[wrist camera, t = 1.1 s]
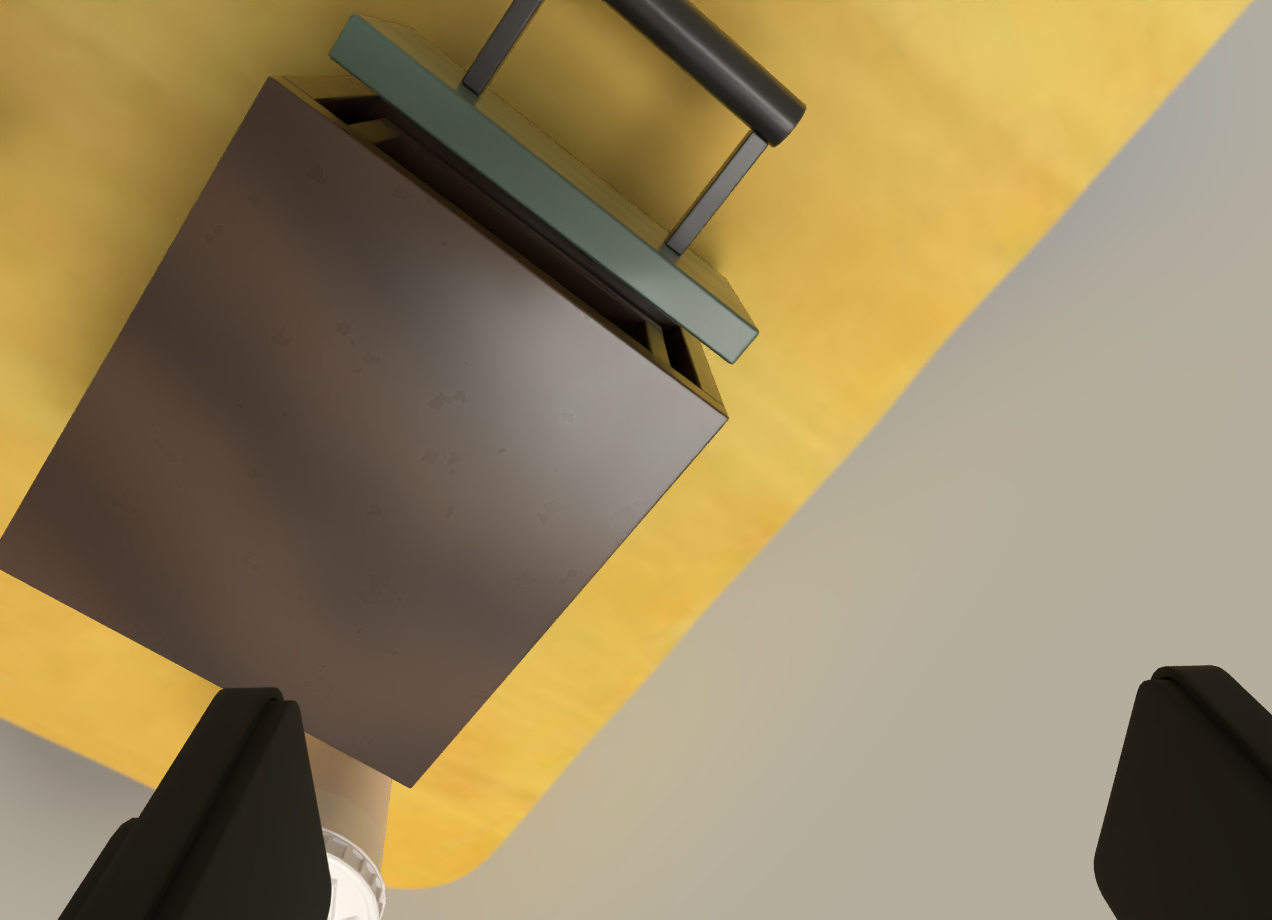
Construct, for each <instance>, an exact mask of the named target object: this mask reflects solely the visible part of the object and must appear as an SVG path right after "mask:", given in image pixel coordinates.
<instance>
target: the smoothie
mask: <svg viewBox="0 0 1272 920" xmlns="http://www.w3.org/2000/svg"><path fill="white" fill-rule="evenodd" d="M304 733H305V732H304ZM305 739H306V744H307V750H308V755H309V761H310V766H311V771H312V777H313V782H314V788H315V793H316V799H317V804H318V810H319V815H320V821H321V826H322V832H323V837H324V843H325V848H326V854H327V859H328V865H329V870H330V876H331V883H332V895H331V905H330V910H329V914H328V918H327V920H381V917H382V914H383V910H384V907H385V903H386V894H385V882H384V880H383V878H382V876H381V874H380V872H381V865H382V858H383V848H384V840H385V832H386V824H387V816H388V808H389V800H390V792H391V784H392V779H391V778H390V777H388V776H386V775H384V774H382V773H380V772H378V771H376V770H375V769H373V768H371V767H369V766H367V765H365V764H363V763H361V762H360V761H358V760H356V759H354V758H352V757H350V756H348V755H347V754H345V753H343V752H341V751H339V750H337V749H335V748H333V747H332V746H330V745H328V744H326V743H324V742H322V741H320V740H318V739H317V738H315V737H313V736H311V735H309V734H307V733H305Z"/></svg>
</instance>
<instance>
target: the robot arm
mask: <svg viewBox="0 0 1272 920" xmlns="http://www.w3.org/2000/svg"><path fill="white" fill-rule="evenodd" d="M1094 873H1095V878H1096V881H1097V884H1098V887H1099V890H1100V891H1101V894H1102V896H1103V897H1104V899H1105V900H1106V902H1107V904H1108V905H1109V907H1110V908H1111V910H1112V912H1113V913H1114V915H1115V917H1116V918H1117V920H1272V715H1271V714H1270V713H1269V712H1268V711H1267V710H1266V709H1265V708H1264V707H1263V706H1262V705H1261V704H1260V703H1259V702H1257V700H1255V698H1253V697H1252V696H1251V695H1250V694H1249V693H1248V692H1247V691H1246V690H1245V689H1244V688H1243V687H1242V686H1241V685H1240V684H1239V683H1238V682H1237V681H1236V680H1235V679H1234V678H1232V677H1231V676H1230V675H1229V674H1228V673H1227V672H1226V671H1224V670H1223V669H1221V668H1220V667H1217V666H1212V665H1204V666H1165V667H1161V668H1158V669H1157V670H1156V671H1155V672H1154V673H1153V675H1152V678H1151V680H1147V681H1144V682H1143V683H1142V684H1141V685H1140V686H1139V689H1138V691H1137V695H1136V698H1135V702H1134V706H1133V710H1132V714H1131V718H1130V722H1129V725H1128V729H1127V733H1126V737H1125V741H1124V745H1123V748H1122V752H1121V756H1120V760H1119V764H1118V768H1117V772H1116V775H1115V779H1114V783H1113V787H1112V791H1111V795H1110V798H1109V802H1108V806H1107V810H1106V814H1105V818H1104V822H1103V826H1102V829H1101V833H1100V837H1099V841H1098V845H1097V848H1096V852H1095V857H1094ZM331 895H332V883H331V876H330V870H329V865H328V859H327V854H326V848H325V843H324V837H323V832H322V826H321V821H320V815H319V810H318V804H317V799H316V793H315V788H314V782H313V777H312V771H311V766H310V761H309V755H308V750H307V744H306V739H305V733H304V728H303V722H302V717H301V711H300V708H299V705H298V703H297V702H296V701H294V700H284V698H283V695H282V693H281V691H280V690H279V689H278V688H276V687H252V688H224V689H222V690H220V691H219V692H218V693H217V694H216V696H215V697H214V698H213V700H212V702H211V703H210V705H209V706H208V708H207V710H206V711H205V713H204V714H203V716H202V717H201V719H200V721H199V722H198V724H197V725H196V727H195V729H194V730H193V732H192V733H191V735H190V737H189V738H188V740H187V741H186V743H185V744H184V746H183V748H182V749H181V751H180V752H179V754H178V756H177V757H176V759H175V760H174V762H173V764H172V765H171V767H170V768H169V770H168V771H167V773H166V775H165V776H164V778H163V779H162V781H161V783H160V784H159V786H158V787H157V789H156V791H155V792H154V794H153V795H152V797H151V798H150V800H149V802H148V803H147V805H146V807H145V808H144V810H143V811H142V813H141V814H140V816H139V818H131V819H130V820H128V821H126V822H125V823H123V824H122V825H121V826H120V827H119V828H118V830H117V831H116V832H115V833H114V834H113V836H112V837H111V838H110V840H109V841H108V843H107V845H106V846H105V848H104V849H103V851H102V852H101V854H100V855H99V857H98V858H97V860H96V861H95V863H94V865H93V866H92V868H91V869H90V871H89V872H88V874H87V875H86V877H85V879H84V880H83V881H82V883H81V884H80V886H79V888H78V889H77V891H76V892H75V894H74V895H73V897H72V899H71V900H70V901H69V903H68V905H67V906H66V908H65V909H64V911H63V912H62V914H61V915H60V917H59V918H58V920H327V918H328V914H329V910H330V905H331Z"/></svg>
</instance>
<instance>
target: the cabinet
mask: <svg viewBox="0 0 1272 920" xmlns="http://www.w3.org/2000/svg"><path fill="white" fill-rule="evenodd" d="M380 118H386V119H388V120H389V121H390V122H392V123H393V124H394V125H396V126H397V127H398V128H400V129H401V130H402V131H404V132H405V133H406V134H408V135H409V136H410V137H411V138H413V139H414V140H415V141H417V142H418V143H419V144H421V145H422V146H423V147H425V148H426V149H427V150H429V151H430V152H431V153H433V154H434V155H435V156H436V157H438V158H439V159H440V160H442V161H443V162H444V163H446V164H447V165H448V166H450V167H451V168H452V169H454V170H455V171H456V172H458V173H459V174H460V175H461V176H463V177H464V178H465V179H467V180H468V181H469V182H471V183H472V184H473V185H475V186H476V187H477V188H479V189H480V190H481V191H483V192H484V193H485V194H486V195H488V196H489V197H490V198H492V199H493V200H494V201H496V202H497V203H498V204H500V205H501V206H502V207H504V208H505V209H506V210H508V211H509V212H510V213H511V214H513V215H514V216H515V217H517V218H518V219H519V220H521V221H522V222H523V223H525V224H526V225H527V226H529V227H530V228H531V229H533V230H534V231H535V232H536V233H538V234H539V235H540V236H542V237H543V238H544V239H546V240H547V241H548V242H550V243H551V244H552V245H554V246H555V247H556V248H558V249H559V250H560V251H561V252H563V253H564V254H565V255H567V256H568V257H569V258H571V259H572V260H573V261H575V262H576V263H577V264H579V265H580V266H581V267H583V268H584V269H585V270H586V271H588V272H589V273H590V274H592V275H593V276H594V277H596V278H597V279H598V280H600V281H601V282H602V283H604V284H605V285H606V286H608V287H609V288H610V289H612V290H613V291H614V292H615V293H617V294H618V295H619V296H621V297H622V298H623V299H625V300H626V301H627V302H629V303H630V304H631V305H633V306H634V307H635V308H637V309H638V310H639V311H640V312H642V313H643V314H644V315H646V316H647V317H648V318H650V319H651V320H652V321H654V322H655V323H656V324H658V325H659V326H660V327H661V328H662V331H663V337H664V341H665V345H666V349H667V354H668V358H669V362H670V366H671V367H670V366H669V365H668V364H666V363H665V362H664V361H662V360H661V359H660V358H658V357H657V356H656V355H654V354H653V353H652V352H650V351H649V350H648V349H646V348H645V347H644V346H642V345H641V344H640V343H638V342H637V341H636V340H634V339H633V338H632V337H630V336H629V335H628V334H626V333H625V332H624V331H622V330H621V329H620V328H618V327H617V326H616V325H614V324H613V323H612V322H610V321H609V320H607V319H606V318H605V317H603V316H602V315H601V314H599V313H598V312H597V311H595V310H594V309H593V308H591V307H590V306H589V305H587V304H586V303H585V302H583V301H582V300H581V299H579V298H578V297H577V296H575V295H574V294H573V293H571V292H570V291H569V290H567V289H566V288H565V287H563V286H562V285H561V284H559V283H558V282H557V281H555V280H554V279H553V278H551V277H550V276H549V275H547V274H546V273H545V272H543V271H542V270H541V269H539V268H538V267H537V266H535V265H534V264H533V263H531V262H530V261H529V260H527V259H526V258H525V257H523V256H522V255H521V254H519V253H518V252H517V251H515V250H514V249H513V248H511V247H510V246H509V245H507V244H506V243H504V242H503V241H502V240H500V239H499V238H498V237H496V236H495V235H494V234H492V233H491V232H490V231H488V230H487V229H486V228H484V227H483V226H482V225H480V224H479V223H478V222H476V221H475V220H474V219H472V218H471V217H470V216H468V215H467V214H466V213H464V212H463V211H462V210H460V209H459V208H458V207H456V206H455V205H454V204H452V203H451V202H450V201H448V200H447V199H446V198H444V197H443V196H442V195H440V194H439V193H438V192H436V191H435V190H434V189H432V188H431V187H430V186H428V185H427V184H426V183H424V182H423V181H422V180H420V179H419V178H418V177H416V176H415V175H414V174H412V173H411V172H410V171H408V170H407V169H406V168H404V167H403V166H402V165H400V164H399V163H397V162H396V161H395V160H393V159H392V158H391V157H389V156H388V155H387V154H385V153H384V152H383V151H381V150H380V149H379V148H377V147H376V146H375V145H373V144H372V143H371V142H369V141H368V140H367V139H365V138H364V137H363V136H361V135H360V134H359V133H357V132H356V131H355V130H353V129H352V128H351V127H349V126H348V125H350V124H356V123H361V122H366V121H371V120H377V119H380ZM728 419H729V417H728V414H727V412H726V409H725V407H724V404H723V401H722V399H721V396H720V394H719V391H718V388H717V386H716V383H715V380H714V378H713V375H712V372H711V370H710V367H709V364H708V362H707V359H706V356H705V354H704V351H703V348H702V346H701V343H700V341H699V340H698V339H697V338H695V337H694V336H693V335H691V334H690V333H689V332H687V331H686V330H685V329H683V328H682V327H681V326H680V325H678V324H677V323H676V322H674V321H673V320H672V319H670V318H669V317H668V316H667V315H665V314H664V313H663V312H661V311H660V310H659V309H657V308H656V307H655V306H653V305H652V304H651V303H650V302H648V301H647V300H646V299H644V298H643V297H642V296H640V295H639V294H638V293H636V292H635V291H634V290H633V289H631V288H630V287H629V286H627V285H626V284H625V283H623V282H622V281H621V280H620V279H618V278H617V277H616V276H614V275H613V274H612V273H610V272H609V271H608V270H606V269H605V268H604V267H603V266H601V265H600V264H599V263H597V262H596V261H595V260H593V259H592V258H591V257H589V256H588V255H587V254H586V253H584V252H583V251H582V250H580V249H579V248H578V247H576V246H575V245H574V244H573V243H571V242H570V241H569V240H567V239H566V238H565V237H563V236H562V235H561V234H559V233H558V232H557V231H556V230H554V229H553V228H552V227H550V226H549V225H548V224H546V223H545V222H544V221H542V220H541V219H540V218H539V217H537V216H536V215H535V214H533V213H532V212H531V211H529V210H528V209H527V208H526V207H524V206H523V205H522V204H520V203H519V202H518V201H516V200H515V199H514V198H512V197H511V196H510V195H509V194H507V193H506V192H505V191H503V190H502V189H501V188H499V187H498V186H497V185H495V184H494V183H493V182H492V181H490V180H489V179H488V178H486V177H485V176H484V175H482V174H481V173H480V172H479V171H477V170H476V169H475V168H473V167H472V166H471V165H469V164H468V163H467V162H465V161H464V160H463V159H462V158H460V157H459V156H458V155H456V154H455V153H454V152H452V151H451V150H450V149H448V148H447V147H446V146H445V145H443V144H442V143H441V142H439V141H438V140H437V139H435V138H434V137H433V136H432V135H430V134H429V133H428V132H426V131H425V130H424V129H422V128H421V127H420V126H418V125H417V124H416V123H415V122H413V121H412V120H411V119H409V118H408V117H407V116H405V115H404V114H403V113H401V112H400V111H399V110H398V109H396V108H395V107H394V106H392V105H391V104H390V103H388V102H387V101H386V100H385V99H383V98H382V97H381V96H379V95H378V94H377V93H375V92H374V91H373V90H371V89H370V88H369V87H368V86H366V85H365V84H364V83H362V82H361V81H360V80H358V79H357V78H356V77H354V76H269V77H268V78H267V79H266V81H265V83H264V85H263V86H262V88H261V90H260V91H259V93H258V95H257V97H256V98H255V100H254V102H253V104H252V105H251V107H250V109H249V110H248V112H247V114H246V116H245V117H244V119H243V121H242V123H241V124H240V126H239V128H238V129H237V131H236V133H235V135H234V136H233V138H232V140H231V142H230V143H229V145H228V147H227V148H226V150H225V152H224V154H223V155H222V157H221V159H220V161H219V162H218V164H217V166H216V167H215V169H214V171H213V173H212V174H211V176H210V178H209V180H208V181H207V183H206V185H205V186H204V188H203V190H202V192H201V193H200V195H199V197H198V199H197V200H196V202H195V204H194V205H193V207H192V209H191V211H190V212H189V214H188V216H187V218H186V219H185V221H184V223H183V224H182V226H181V228H180V230H179V231H178V233H177V235H176V237H175V238H174V240H173V242H172V243H171V245H170V247H169V249H168V250H167V252H166V254H165V256H164V257H163V259H162V261H161V262H160V264H159V266H158V268H157V269H156V271H155V273H154V275H153V276H152V278H151V280H150V281H149V283H148V285H147V287H146V288H145V290H144V292H143V294H142V295H141V297H140V299H139V300H138V302H137V304H136V306H135V307H134V309H133V311H132V313H131V314H130V316H129V318H128V319H127V321H126V323H125V325H124V326H123V328H122V330H121V332H120V333H119V335H118V337H117V338H116V340H115V342H114V344H113V345H112V347H111V349H110V351H109V352H108V354H107V356H106V357H105V359H104V361H103V363H102V364H101V366H100V368H99V370H98V371H97V373H96V375H95V376H94V378H93V380H92V382H91V383H90V385H89V387H88V389H87V390H86V392H85V394H84V395H83V397H82V399H81V401H80V402H79V404H78V406H77V408H76V409H75V411H74V413H73V414H72V416H71V418H70V420H69V421H68V423H67V425H66V427H65V428H64V430H63V432H62V433H61V435H60V437H59V439H58V440H57V442H56V444H55V446H54V447H53V449H52V451H51V452H50V454H49V456H48V458H47V459H46V461H45V463H44V465H43V466H42V468H41V470H40V471H39V473H38V475H37V477H36V478H35V480H34V482H33V484H32V485H31V487H30V489H29V490H28V492H27V494H26V496H25V497H24V499H23V501H22V503H21V504H20V506H19V508H18V509H17V511H16V513H15V515H14V516H13V518H12V520H11V522H10V523H9V525H8V527H7V528H6V530H5V532H4V534H3V535H2V537H1V539H0V570H2V571H4V572H6V573H8V574H9V575H11V576H13V577H15V578H17V579H19V580H21V581H23V582H24V583H26V584H28V585H30V586H32V587H34V588H36V589H38V590H39V591H41V592H43V593H45V594H47V595H49V596H51V597H53V598H54V599H56V600H58V601H60V602H62V603H64V604H66V605H67V606H69V607H71V608H73V609H75V610H77V611H79V612H81V613H82V614H84V615H86V616H88V617H90V618H92V619H94V620H96V621H97V622H99V623H101V624H103V625H105V626H107V627H109V628H111V629H112V630H114V631H116V632H118V633H120V634H122V635H124V636H126V637H127V638H129V639H131V640H133V641H135V642H137V643H139V644H141V645H142V646H144V647H146V648H148V649H150V650H152V651H154V652H156V653H157V654H159V655H161V656H163V657H165V658H167V659H169V660H170V661H172V662H174V663H176V664H178V665H180V666H182V667H184V668H185V669H187V670H189V671H191V672H193V673H195V674H197V675H199V676H200V677H202V678H204V679H206V680H208V681H210V682H212V683H214V684H215V685H217V686H219V687H221V688H223V689H224V688H252V687H276V688H278V689H279V690H280V691H281V693H282V695H283V698H284V700H294V701H296V702H297V703H298V705H299V708H300V711H301V717H302V722H303V728H304V732H305V733H307V734H309V735H311V736H313V737H315V738H317V739H318V740H320V741H322V742H324V743H326V744H328V745H330V746H332V747H333V748H335V749H337V750H339V751H341V752H343V753H345V754H347V755H348V756H350V757H352V758H354V759H356V760H358V761H360V762H361V763H363V764H365V765H367V766H369V767H371V768H373V769H375V770H376V771H378V772H380V773H382V774H384V775H386V776H388V777H390V778H391V779H393V780H395V781H397V782H399V783H401V784H403V785H405V786H406V787H408V788H412V787H413V786H414V784H415V783H416V782H417V781H418V780H419V779H420V777H421V776H422V775H423V774H424V773H425V772H426V771H427V769H428V768H429V767H430V766H431V765H432V764H433V762H434V761H435V760H436V759H437V758H438V757H439V755H440V754H441V753H442V752H443V751H444V750H445V748H446V747H447V746H448V745H449V744H450V743H451V741H452V740H453V739H454V738H455V737H456V736H457V734H458V733H459V732H460V731H461V730H462V729H463V728H464V726H465V725H466V724H467V723H468V722H469V721H470V719H471V718H472V717H473V716H474V715H475V714H476V712H477V711H478V710H479V709H480V708H481V707H482V705H483V704H484V703H485V702H486V701H487V700H488V698H489V697H490V696H491V695H492V694H493V693H494V692H495V690H496V689H497V688H498V687H499V686H500V685H501V683H502V682H503V681H504V680H505V679H506V678H507V676H508V675H509V674H510V673H511V672H512V671H513V669H514V668H515V667H516V666H517V665H518V664H519V662H520V661H521V660H522V659H523V658H524V657H525V655H526V654H527V653H528V652H529V651H530V650H531V649H532V647H533V646H534V645H535V644H536V643H537V642H538V640H539V639H540V638H541V637H542V636H543V635H544V633H545V632H546V631H547V630H548V629H549V628H550V626H551V625H552V624H553V623H554V622H555V621H556V619H557V618H558V617H559V616H560V615H561V614H562V612H563V611H564V610H565V609H566V608H567V607H568V606H569V604H570V603H571V602H572V601H573V600H574V599H575V597H576V596H577V595H578V594H579V593H580V592H581V590H582V589H583V588H584V587H585V586H586V585H587V583H588V582H589V581H590V580H591V579H592V578H593V576H594V575H595V574H596V573H597V572H598V571H599V569H600V568H601V567H602V566H603V565H604V564H605V563H606V561H607V560H608V559H609V558H610V557H611V556H612V554H613V553H614V552H615V551H616V550H617V549H618V547H619V546H620V545H621V544H622V543H623V542H624V540H625V539H626V538H627V537H628V536H629V535H630V533H631V532H632V531H633V530H634V529H635V528H636V526H637V525H638V524H639V523H640V522H641V521H642V520H643V518H644V517H645V516H646V515H647V514H648V513H649V511H650V510H651V509H652V508H653V507H654V506H655V504H656V503H657V502H658V501H659V500H660V499H661V497H662V496H663V495H664V494H665V493H666V492H667V490H668V489H669V488H670V487H671V486H672V485H673V483H674V482H675V481H676V480H677V479H678V478H679V477H680V475H681V474H682V473H683V472H684V471H685V470H686V468H687V467H688V466H689V465H690V464H691V463H692V461H693V460H694V459H695V458H696V457H697V456H698V454H699V453H700V452H701V451H702V450H703V449H704V447H705V446H706V445H707V444H708V443H709V442H710V440H711V439H712V438H713V437H714V436H715V435H716V434H717V432H718V431H719V430H720V429H721V428H722V427H723V425H724V424H725V423H726V422H727V421H728Z"/></svg>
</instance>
